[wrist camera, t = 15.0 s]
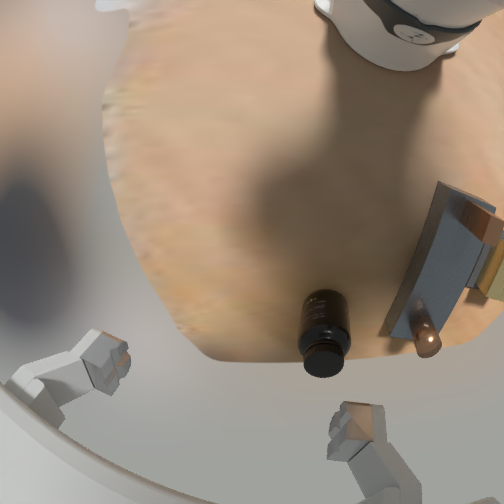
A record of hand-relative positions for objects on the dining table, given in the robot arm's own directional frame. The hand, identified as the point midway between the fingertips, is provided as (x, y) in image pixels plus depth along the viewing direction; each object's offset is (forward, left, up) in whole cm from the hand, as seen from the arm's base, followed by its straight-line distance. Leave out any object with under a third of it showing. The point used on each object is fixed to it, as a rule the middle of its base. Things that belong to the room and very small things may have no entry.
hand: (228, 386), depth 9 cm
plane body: (+5, +22, -29) cm, 37 cm away
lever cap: (+2, +33, -28) cm, 44 cm away
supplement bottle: (+16, +8, -29) cm, 34 cm away
